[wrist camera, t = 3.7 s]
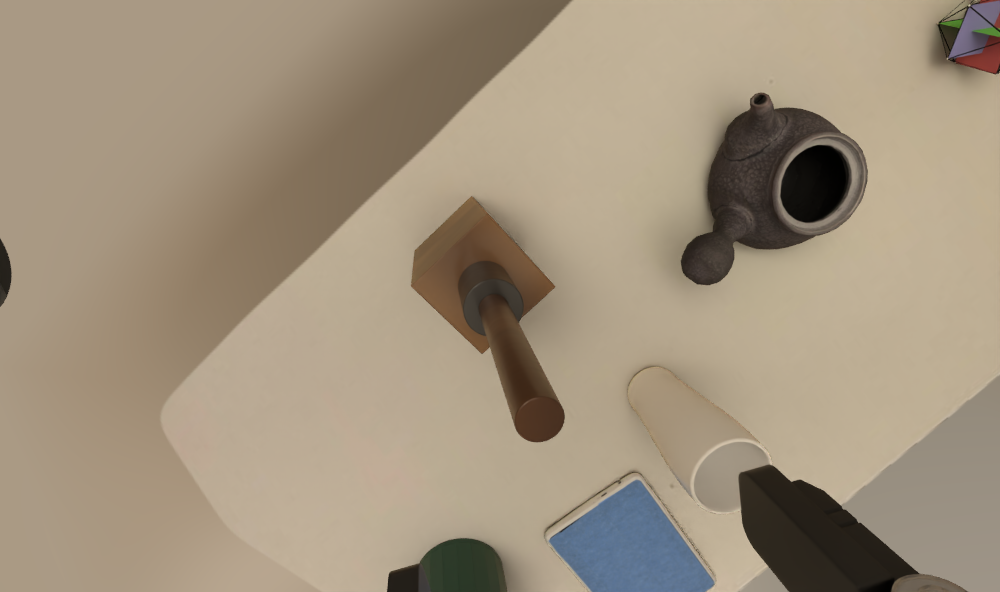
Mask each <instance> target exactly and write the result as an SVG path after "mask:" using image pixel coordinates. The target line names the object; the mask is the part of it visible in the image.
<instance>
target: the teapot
mask: <svg viewBox="0 0 1000 592" xmlns="http://www.w3.org/2000/svg"><path fill="white" fill-rule="evenodd" d="M750 106H751V109H750V110H749V111H746V112H744V113H742V114H741V115H739V116H738V117H736V118H735V119H734V120H733V121H732V122H731V124H730V125H729V126H728V128H727V131H726V134H725V139H724V142H723V143H722V145H721V146H720V149H719V151H718V153H717V155H716V157H715V159H714V162H713V164H712V167H711V171H710V175H709V182H708V198H709V202H710V207H711V211H712V215H713V217H714V218H715V222H714V225H713V232H711V233H706V234H703V235H700V236H697V237H696V238H694V239H693V240H692V241H691V242H690V243H689V244H688V245H687V247H686V249H685V251H684V253H683V255H682V259H681V266H682V271H683V273H684V274H685V276H686V277H688V278H689V279H690V280H692V281H693V282H695V283H696V284H701V285H711V284H714V283H717V282H719V281H721V280H722V279H723V278H724V277H725V276H726V275H727V274H728V272H729V271H730V269H731V267H732V264H733V261H734V248H733V243H734V242H735V241H737V242H739V243H741V244H744V245H746V246H749V247H752V248H756V249H780V248H786V247H790V246H793V245H796V244H800V243H802V242H804V241H806V240H809V239H811V238H813V237H814V236H816V235H822V234H825V233H828V232H830V231H832V230H834V229H836V228H838V227H839V226H840V225H842V224H843V223H844V222H845V221H846V220H847V219H849V218H850V216H851V215H852V214H853V212H854V211H855V210H856V208H857V207H858V205H859V204H860V202H861V200H862V198H863V195H864V191H865V188H866V184H867V174H868V171H867V165H866V159H865V157H864V154H863V151H862V150H861V148H860V147H859V145H858V144H857V143H856V142H855V141H854V140H853V139H851V138H850V137H848V136H847V135H845V134H843V133H841V132H840V131H839V130H838V129H837V128H836V127H835V126H834V125H833V124H832V123H830V122H829V121H828V120H826V119H825V118H823V117H821V116H820V115H817V114H815V113H813V112H810V111H807V110H803V109H797V108H779V109H774V107H773V103H772V101H771V99H770V97H769V95H767V94H765V93H757V94H755V95H754V96H753V97H752V98H751V99H750Z"/></svg>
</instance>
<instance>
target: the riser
mask: <svg viewBox="0 0 1000 592" xmlns="http://www.w3.org/2000/svg"><path fill="white" fill-rule="evenodd" d="M479 261H491V262H495V263H497V264H499V265H500V266H502V267H503V268H504V269H505V270H506V272H507V273H508V275H509V276H510V278H511V279H512V281H513V283H514V284H515V286H516V287H517V289H518V290H519V292H520V294H521V296H522V299H523V303H524V310H523V315H522V317H523V316H524V315H525V314H526V313H527V312H528V311H530V310H531V309H532V308H533V307H534V306H535V305H536V304H537V303H538V302H539V301H540V300H542V299H543V298H544V297H545V296H546V295H547V294H548V293H549V292H550V291H551V290H552V289H554V288H555V286H554V285H553V283H552V282H551V281H550V280H549V279H548V278H547V277H546V276H545V275H544V274H543V272H542V271H541V270H540V269H539V268H538V267H537V266H536V265H535V264H534V263H533V262H532V260H531V259H530V258H529V257H528V256H527V255H526V254H525V253H524V252H523V251H522V249H521V248H520V247H519V246H518V245H517V244H516V243H515V242H514V241H513V240H512V239H511V238H510V237H509V236H508V234H507V233H506V232H505V231H504V230H503V229H502V228H501V227H500V226H499V225H498V224H497V223H496V222H495V220H494V219H493V218H492V217H491V216H490V215H489V214H488V213H487V212H486V211H485V210H484V209H483V208H482V206H481V205H480V204H479V203H478V202H477V201H476V200H475V199H474V198H473V197H472V196H471V197H470V198H469V199H468V200H467V201H466V202H465V203H464V204H463V205H462V206H461V207H460V208H459V209H458V210H457V211H456V212H455V213H454V214H453V215H452V216H450V217H449V218H448V219H447V220H446V221H445V222H444V223H443V224H442V225H441V226H440V227H439V228H438V229H437V230H436V231H435V232H434V233H433V234H432V235H431V236H430V237H429V238H428V239H426V240H425V241H424V242H423V243H422V244H421V245H420V246H419V247H418V248H417V249H416V250H415V253H414V262H413V272H412V281H411V287H412V288H413V289H414V290H416V291H417V292H418V293H419V294H420V295H421V296H422V297H423V298H424V299H425V300H426V301H427V302H428V303H429V304H430V305H431V306H432V307H433V308H434V309H435V310H436V311H438V312H439V313H440V314H441V315H442V316H443V317H444V318H445V319H446V320H447V321H448V322H449V323H450V324H451V325H452V326H453V327H454V328H455V329H456V330H457V331H458V332H460V333H461V334H462V335H463V336H464V337H465V338H466V339H467V340H468V341H469V342H470V343H471V344H472V345H473V346H474V347H475V348H476V349H477V350H478V351H479V352H480V353H482V354H483V353H484V352H485V351H486V350H487V349H488V348H489V347H490V346H489V343H488V340H487V336H483V335H480V334H478V333H476V332H475V331H474V330H472V329H471V328H470V327H469V325H468V324H467V322H466V320H465V318H464V314H463V310H462V305H461V301H460V296H459V291H458V283H459V279H460V276H461V275H462V273H463V272H464V270H465V269H466V268H467V267H469V266H470V265H472V264H473V263H476V262H479ZM522 317H521V318H522Z"/></svg>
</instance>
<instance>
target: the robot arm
mask: <svg viewBox="0 0 1000 592" xmlns="http://www.w3.org/2000/svg"><path fill="white" fill-rule="evenodd" d="M738 481H739V492H740V503H741V514H742V523H743V527H744V530H745V533H746V535H747V538H748V540H749V541H750V543H751V545H752V546H753V548H754V549H755V551H756V552H757V553H758V554H759V555H760V557H761V558H762V559H763V560H764V562H765V563H766V564H767V565H768V566H769V568H770V569H771V570H772V571H773V573H774V574H775V575H776V576H777V577H778V579H779V580H780V581H781V582H782V584H783V585H784V586H785V587H786V589H787V590H788V591H789V592H967V591H966V590H964V589H963V588H962V587H960V586H958V585H956V584H954V583H952V582H950V581H948V580H945V579H942V578H939V577H935V576H931V575H925V574H919V573H918V572H917V571H916V570H914V569H913V568H912V567H911V566H910V565H909V564H907V563H906V562H905V561H904V560H903V559H902V558H901V557H899V556H898V555H897V554H896V553H895V552H894V551H892V550H891V549H890V548H889V547H888V546H887V545H886V544H884V543H883V542H882V541H881V540H880V539H879V538H878V537H876V536H875V535H874V534H873V533H872V532H871V531H869V530H868V529H867V528H866V527H865V526H864V525H862V524H861V523H858V522H857V520H856V519H855V518H854V517H853V516H852V515H851V514H850V513H849V512H848V511H846V510H843V509H842V506H841V505H839V504H838V503H837V502H836V501H835V500H834V499H833V498H831V497H830V496H829V495H828V494H827V493H826V492H824V491H823V490H821V489H819V488H817V487H815V486H813V485H811V484H808V483H806V482H804V481H802V480H797V481H793V482H791V481H790V480H788V479H787V478H786V477H785V476H784V475H783V474H782V473H781V472H780V471H779V470H778V469H777V468H775V467H774V466H772V465H765V466H761V467H758V468H755V469H751V470H748V471H744V472H741V473H740V474H739V477H738ZM387 592H431V589H430V586H429V583H428V580H427V577H426V574H425V571H424V568H423V566H422V564H421V563H419V564H415V565H412V566H408V567H405V568H401V569H398V570H394V571H391V572H390V573H389V577H388V589H387Z"/></svg>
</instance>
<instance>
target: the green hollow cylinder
mask: <svg viewBox="0 0 1000 592" xmlns="http://www.w3.org/2000/svg"><path fill="white" fill-rule="evenodd" d="M420 563H421V564H422V566H423V568H424V571H425V574H426V577H427V580H428V583H429V586H430V589H431V592H507V587H506V582H505V576H504V571H503V568H502V563H501V560H500V558H499V556H498V554H497V553H496V552H495V551H494V550H493V549H492V548H491V547H490V546H488V545H487V544H485V543H483V542H480V541H477V540H473V539H454V540H450V541H447V542H444V543H442V544H439V545H437V546H436V547H434V548H433V549H431V550H430V551H429V552H428V553H427V554H426V555H425V556H424V557H423V559H422V560H421V562H420Z"/></svg>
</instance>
